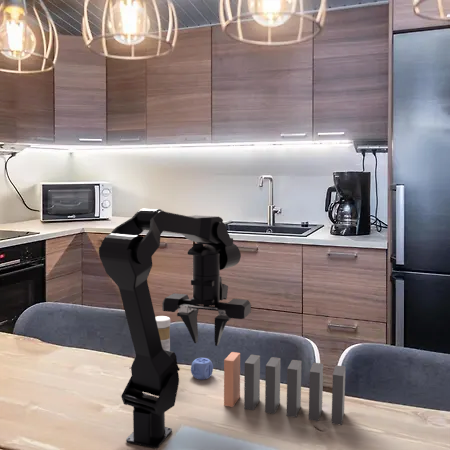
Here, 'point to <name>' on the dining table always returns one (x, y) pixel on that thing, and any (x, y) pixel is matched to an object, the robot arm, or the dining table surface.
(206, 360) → the decorative dice
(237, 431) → the dining table surface
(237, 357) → the domino
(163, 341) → the sprinkles bottle
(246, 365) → the domino
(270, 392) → the domino
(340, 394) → the domino
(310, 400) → the domino
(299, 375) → the domino
